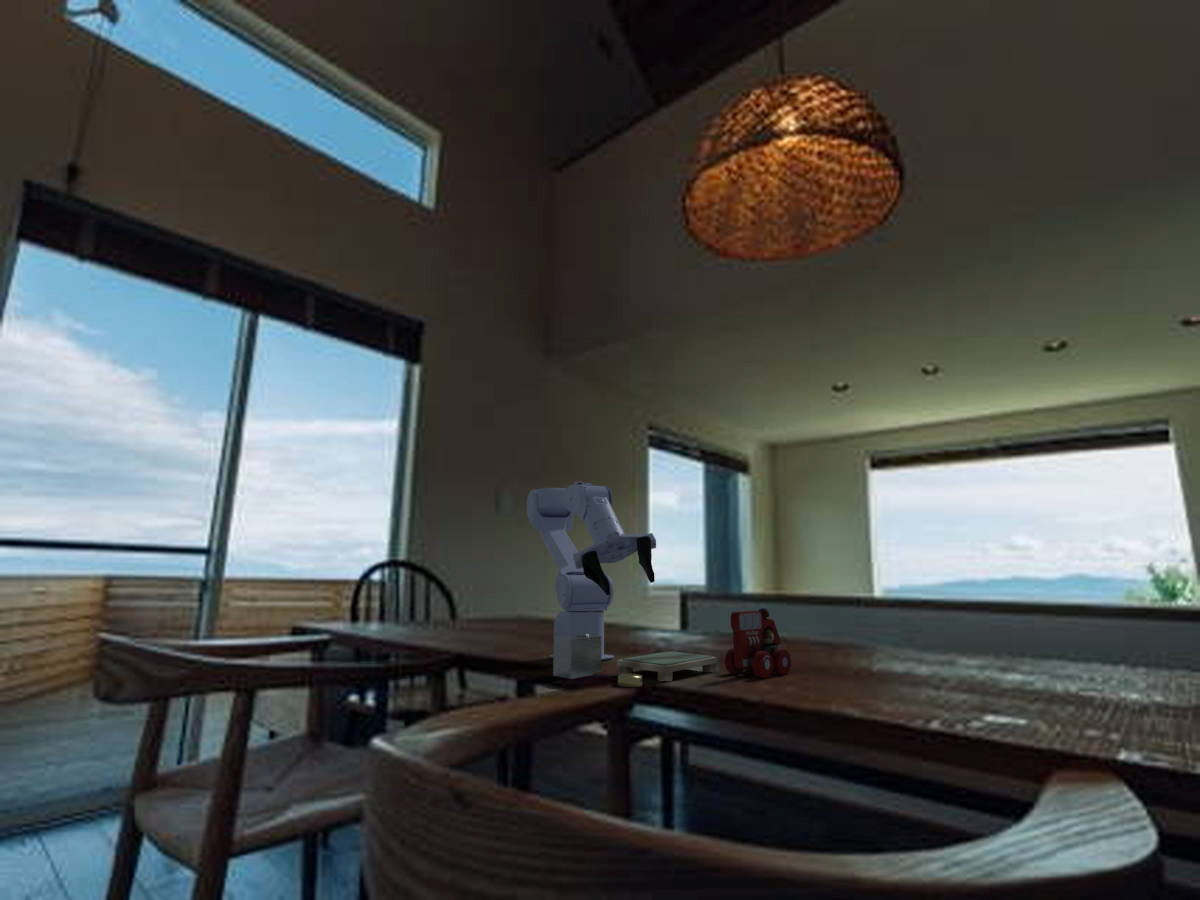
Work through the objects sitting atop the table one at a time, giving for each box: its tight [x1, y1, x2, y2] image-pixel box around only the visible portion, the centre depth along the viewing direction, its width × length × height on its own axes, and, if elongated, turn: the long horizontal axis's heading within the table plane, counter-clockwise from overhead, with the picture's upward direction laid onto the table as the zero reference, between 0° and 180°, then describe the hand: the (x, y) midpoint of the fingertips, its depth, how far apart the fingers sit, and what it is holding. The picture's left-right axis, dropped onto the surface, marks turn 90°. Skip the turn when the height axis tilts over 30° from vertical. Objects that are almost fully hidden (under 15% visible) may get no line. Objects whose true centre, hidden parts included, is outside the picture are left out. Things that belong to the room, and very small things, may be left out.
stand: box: [616, 650, 718, 681], centre depth 106 cm, size 10×14×2 cm
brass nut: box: [617, 673, 643, 688], centre depth 96 cm, size 4×4×2 cm
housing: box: [552, 634, 602, 680], centre depth 106 cm, size 4×7×6 cm, turn 137°
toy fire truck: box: [724, 607, 792, 679], centre depth 107 cm, size 7×12×10 cm, turn 132°
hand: (630, 584), depth 106 cm, fingers open, 7 cm apart
